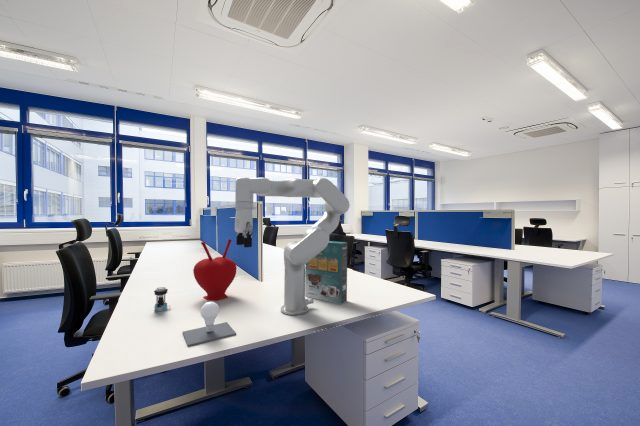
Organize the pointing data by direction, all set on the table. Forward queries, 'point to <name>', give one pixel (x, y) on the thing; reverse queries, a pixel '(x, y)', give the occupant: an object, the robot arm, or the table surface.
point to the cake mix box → (328, 274)
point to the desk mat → (208, 334)
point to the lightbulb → (209, 314)
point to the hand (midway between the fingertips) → (243, 245)
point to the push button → (160, 299)
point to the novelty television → (215, 274)
